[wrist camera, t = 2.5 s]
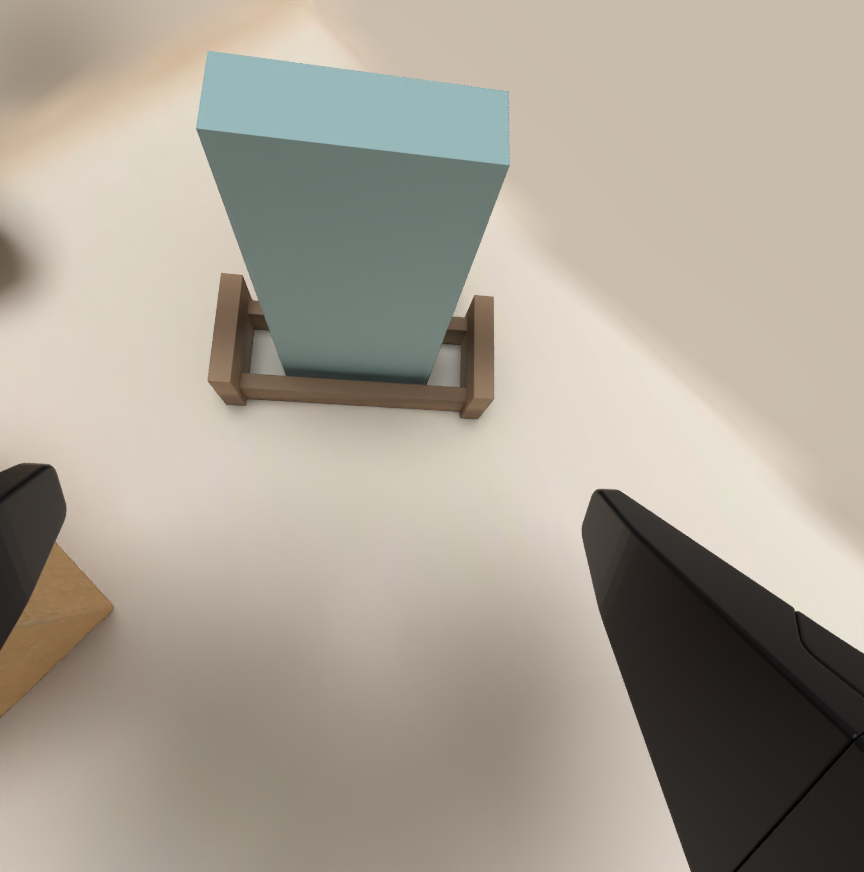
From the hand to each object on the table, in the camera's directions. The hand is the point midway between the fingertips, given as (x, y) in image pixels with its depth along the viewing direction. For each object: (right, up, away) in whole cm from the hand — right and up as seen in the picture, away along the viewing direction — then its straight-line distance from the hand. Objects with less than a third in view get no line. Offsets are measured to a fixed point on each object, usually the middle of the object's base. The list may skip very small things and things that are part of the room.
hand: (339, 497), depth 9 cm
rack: (-2, +4, +15) cm, 16 cm away
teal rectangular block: (-2, +4, +15) cm, 16 cm away
